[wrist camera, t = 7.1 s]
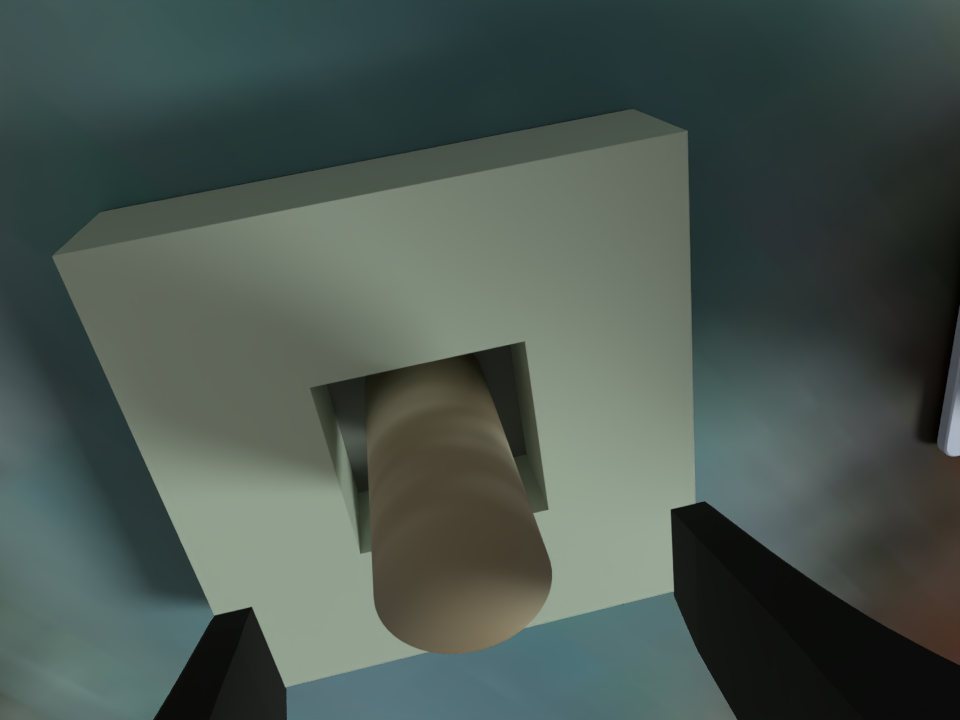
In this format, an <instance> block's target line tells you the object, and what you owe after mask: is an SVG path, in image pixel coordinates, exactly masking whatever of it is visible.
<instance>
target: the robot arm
mask: <svg viewBox="0 0 960 720" xmlns="http://www.w3.org/2000/svg"><path fill="white" fill-rule="evenodd" d="M937 446H938V447H939V449H940V450H941V451H943V452H944V453H945V454H947V455H949V456H959V455H960V307H959V313H958V319H957V325H956V331H955V337H954V343H953V349H952V355H951V361H950V367H949V373H948V379H947V385H946V391H945V397H944V403H943V409H942V415H941V421H940V427H939V433H938V439H937ZM671 533H672V557H673V581H674V597H675V599H676V602H677V604H678V606H679V609H680V611H681V613H682V616H683V618H684V621H685V623H686V625H687V628H688V630H689V632H690V634H691V637H692V639H693V641H694V643H695V646H696V648H697V650H698V652H699V654H700V655H701V657H702V659H703V661H704V663H705V664H706V666H707V668H708V670H709V671H710V673H711V675H712V677H713V678H714V680H715V682H716V683H717V685H718V687H719V689H720V690H721V692H722V694H723V696H724V697H725V699H726V701H727V703H728V704H729V706H730V708H731V709H732V711H733V713H734V715H735V716H736V718H737V720H960V665H958V664H956V663H954V662H952V661H950V660H948V659H946V658H944V657H942V656H940V655H937V654H936V653H934V652H932V651H930V650H928V649H926V648H924V647H922V646H920V645H919V644H917V643H915V642H913V641H911V640H909V639H908V638H906V637H904V636H902V635H900V634H898V633H896V632H895V631H893V630H891V629H889V628H887V627H886V626H884V625H882V624H880V623H879V622H877V621H875V620H874V619H872V618H870V617H869V616H867V615H865V614H864V613H862V612H860V611H859V610H857V609H856V608H854V607H852V606H851V605H849V604H848V603H846V602H844V601H843V600H841V599H840V598H838V597H837V596H835V595H833V594H832V593H830V592H829V591H827V590H826V589H824V588H823V587H821V586H820V585H818V584H817V583H815V582H814V581H813V580H811V579H810V578H808V577H807V576H805V575H804V574H802V573H801V572H800V571H798V570H797V569H795V568H794V567H792V566H791V565H790V564H788V563H787V562H785V561H784V560H782V559H781V558H780V557H778V556H777V555H776V554H774V553H773V552H771V551H770V550H769V549H767V548H766V547H765V546H763V545H762V544H761V543H759V542H758V541H757V540H755V539H754V538H753V537H751V536H750V535H749V534H747V533H746V532H745V531H743V530H742V529H741V528H739V527H738V526H737V525H735V524H734V523H733V522H732V521H730V520H729V519H728V518H726V517H725V516H724V515H722V514H721V513H720V512H718V511H717V510H716V509H715V508H713V507H712V506H711V505H709V504H708V503H706V502H705V501H704V502H700V503H696V504H691V505H687V506H683V507H678V508H674V509H671ZM153 720H287V706H286V688H285V685H284V683H283V680H282V678H281V675H280V673H279V671H278V668H277V666H276V663H275V661H274V659H273V656H272V654H271V651H270V649H269V647H268V644H267V642H266V639H265V637H264V635H263V632H262V630H261V627H260V625H259V622H258V620H257V618H256V615H255V613H254V610H253V608H252V607H248V608H244V609H240V610H235V611H231V612H227V613H223V614H218V615H215V616H214V618H213V619H212V620H211V622H210V623H209V625H208V627H207V629H206V630H205V632H204V634H203V636H202V637H201V639H200V641H199V643H198V644H197V646H196V648H195V650H194V652H193V653H192V655H191V657H190V659H189V660H188V662H187V664H186V666H185V667H184V669H183V671H182V673H181V674H180V676H179V678H178V679H177V681H176V683H175V685H174V686H173V688H172V690H171V691H170V693H169V695H168V696H167V698H166V700H165V701H164V703H163V705H162V706H161V708H160V710H159V711H158V713H157V715H156V716H155V718H154V719H153Z"/></svg>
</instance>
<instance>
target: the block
mask: <svg viewBox="0 0 960 720" xmlns="http://www.w3.org/2000/svg"><path fill="white" fill-rule="evenodd" d="M52 258H53V260H54V262H55V264H56V267H57V269H58V271H59V273H60V275H61V278H62V280H63V282H64V284H65V286H66V289H67V291H68V293H69V295H70V298H71V300H72V302H73V304H74V306H75V309H76V311H77V313H78V315H79V317H80V320H81V322H82V324H83V326H84V328H85V331H86V333H87V335H88V337H89V339H90V342H91V344H92V346H93V348H94V351H95V353H96V355H97V357H98V359H99V362H100V364H101V366H102V368H103V370H104V373H105V375H106V377H107V379H108V381H109V384H110V386H111V388H112V390H113V393H114V395H115V397H116V399H117V401H118V404H119V406H120V408H121V410H122V412H123V415H124V417H125V419H126V421H127V423H128V426H129V428H130V430H131V432H132V435H133V437H134V439H135V441H136V443H137V446H138V448H139V450H140V452H141V454H142V457H143V459H144V461H145V463H146V465H147V468H148V470H149V472H150V474H151V477H152V479H153V481H154V483H155V485H156V488H157V490H158V492H159V494H160V496H161V499H162V501H163V503H164V505H165V507H166V510H167V512H168V514H169V516H170V519H171V521H172V523H173V525H174V527H175V530H176V532H177V534H178V536H179V538H180V541H181V543H182V545H183V547H184V549H185V552H186V554H187V556H188V558H189V560H190V563H191V565H192V567H193V569H194V572H195V574H196V576H197V578H198V580H199V583H200V585H201V587H202V589H203V591H204V594H205V596H206V598H207V600H208V602H209V605H210V607H211V609H212V611H213V614H214V616H215V615H218V614H223V613H227V612H231V611H235V610H240V609H244V608H248V607H252V608H253V610H254V613H255V615H256V618H257V620H258V622H259V625H260V627H261V630H262V632H263V635H264V637H265V639H266V642H267V644H268V647H269V649H270V651H271V654H272V656H273V659H274V661H275V663H276V666H277V668H278V671H279V673H280V675H281V678H282V680H283V683H284V685H285V687H288V686H292V685H296V684H301V683H305V682H309V681H313V680H317V679H321V678H325V677H329V676H333V675H337V674H341V673H345V672H349V671H353V670H357V669H361V668H365V667H369V666H373V665H377V664H381V663H385V662H389V661H394V660H398V659H402V658H406V657H410V656H414V655H418V654H422V653H426V652H428V651H424V650H420V649H417V648H414V647H412V646H410V645H408V644H406V643H404V642H402V641H401V640H399V639H398V638H396V637H395V636H394V635H393V634H391V633H390V632H389V631H388V630H387V629H386V627H385V626H384V625H383V624H382V622H381V620H380V618H379V617H378V614H377V611H376V609H375V604H374V598H373V575H372V552H371V529H370V505H369V482H368V459H367V436H366V413H365V381H366V377H367V375H371V374H376V373H380V372H385V371H389V370H394V369H399V368H403V367H408V366H413V365H417V364H422V363H426V362H431V361H436V360H440V359H445V358H450V357H454V356H459V355H463V354H468V353H473V355H474V356H475V357H476V359H477V360H478V362H479V364H480V366H481V369H482V372H483V374H484V377H485V380H486V383H487V386H488V388H489V391H490V394H491V397H492V400H493V402H494V405H495V408H496V411H497V413H498V416H499V419H500V422H501V425H502V427H503V430H504V433H505V436H506V439H507V441H508V444H509V447H510V450H511V453H512V455H513V458H514V461H515V464H516V466H517V469H518V472H519V475H520V478H521V480H522V483H523V486H524V489H525V492H526V494H527V497H528V500H529V503H530V506H531V508H532V511H533V514H534V517H535V519H536V522H537V525H538V528H539V531H540V533H541V536H542V539H543V542H544V545H545V547H546V550H547V553H548V556H549V559H550V562H551V567H552V583H551V588H550V592H549V595H548V597H547V600H546V602H545V604H544V605H543V607H542V609H541V610H540V612H539V613H538V614H537V615H536V617H535V618H534V619H533V620H532V621H531V622H530V623H529V624H528V625H527V626H526V627H525V628H527V627H531V626H535V625H539V624H543V623H547V622H551V621H555V620H559V619H563V618H567V617H571V616H576V615H580V614H584V613H588V612H592V611H596V610H600V609H604V608H608V607H612V606H616V605H620V604H624V603H628V602H632V601H636V600H640V599H644V598H648V597H652V596H656V595H660V594H665V593H669V592H673V591H674V581H673V557H672V533H671V509H674V508H678V507H683V506H687V505H691V504H695V463H694V414H693V366H692V317H691V269H690V221H689V172H688V131H687V130H684V129H682V128H679V127H677V126H674V125H672V124H669V123H667V122H664V121H662V120H660V119H657V118H655V117H652V116H650V115H647V114H645V113H642V112H640V111H637V110H635V109H630V110H625V111H619V112H614V113H609V114H604V115H599V116H594V117H588V118H583V119H578V120H573V121H568V122H563V123H557V124H552V125H547V126H542V127H537V128H532V129H526V130H521V131H516V132H511V133H506V134H501V135H495V136H490V137H485V138H480V139H475V140H470V141H464V142H459V143H454V144H449V145H444V146H439V147H433V148H428V149H423V150H418V151H413V152H408V153H402V154H397V155H392V156H387V157H382V158H377V159H371V160H366V161H361V162H356V163H351V164H346V165H340V166H335V167H330V168H325V169H320V170H315V171H309V172H304V173H299V174H294V175H289V176H284V177H278V178H273V179H268V180H263V181H258V182H253V183H247V184H242V185H237V186H232V187H227V188H222V189H216V190H211V191H206V192H201V193H196V194H191V195H185V196H180V197H175V198H170V199H165V200H160V201H154V202H149V203H144V204H139V205H134V206H129V207H123V208H118V209H113V210H108V211H103V212H100V213H99V214H97V215H96V216H95V217H94V218H93V219H92V220H91V221H90V222H89V223H88V224H87V225H85V226H84V227H83V228H82V229H81V230H80V231H79V232H78V233H77V234H76V235H74V236H73V237H72V238H71V239H70V240H69V241H68V242H67V243H66V244H65V245H64V246H62V247H61V248H60V249H59V250H58V251H57V252H56V253H55V254H54V255H53V256H52Z"/></svg>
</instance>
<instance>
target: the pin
mask: <svg viewBox="0 0 960 720" xmlns="http://www.w3.org/2000/svg"><path fill="white" fill-rule="evenodd" d="M365 413H366V436H367V459H368V482H369V505H370V529H371V552H372V575H373V598H374V604H375V609H376V611H377V614H378V617H379V618H380V620H381V622H382V624H383V625H384V626H385V627H386V629H387V630H388V631H389V632H390V633H391V634H393V635H394V636H395V637H396V638H398V639H399V640H401V641H402V642H404V643H406V644H408V645H410V646H412V647H414V648H417V649H420V650H424V651H428V652H433V653H441V654H459V653H468V652H474V651H478V650H482V649H486V648H489V647H491V646H494V645H497V644H499V643H501V642H503V641H505V640H507V639H509V638H510V637H512V636H514V635H515V634H517V633H518V632H519V631H521V630H522V629H523V628H525V627H526V626H527V625H528V624H529V623H530V622H531V621H532V620H533V619H534V618H535V617H536V615H537V614H538V613H539V612H540V610H541V609H542V607H543V605H544V604H545V602H546V600H547V597H548V595H549V592H550V588H551V583H552V567H551V562H550V559H549V556H548V553H547V550H546V547H545V545H544V542H543V539H542V536H541V533H540V531H539V528H538V525H537V522H536V519H535V517H534V514H533V511H532V508H531V506H530V503H529V500H528V497H527V494H526V492H525V489H524V486H523V483H522V480H521V478H520V475H519V472H518V469H517V466H516V464H515V461H514V458H513V455H512V453H511V450H510V447H509V444H508V441H507V439H506V436H505V433H504V430H503V427H502V425H501V422H500V419H499V416H498V413H497V411H496V408H495V405H494V402H493V400H492V397H491V394H490V391H489V388H488V386H487V383H486V380H485V377H484V374H483V372H482V369H481V366H480V364H479V362H478V360H477V359H476V357H475V356H474V355H473V353H468V354H463V355H459V356H454V357H450V358H445V359H440V360H436V361H431V362H426V363H422V364H417V365H413V366H408V367H403V368H399V369H394V370H389V371H385V372H380V373H376V374H371V375H367V377H366V381H365Z"/></svg>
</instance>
